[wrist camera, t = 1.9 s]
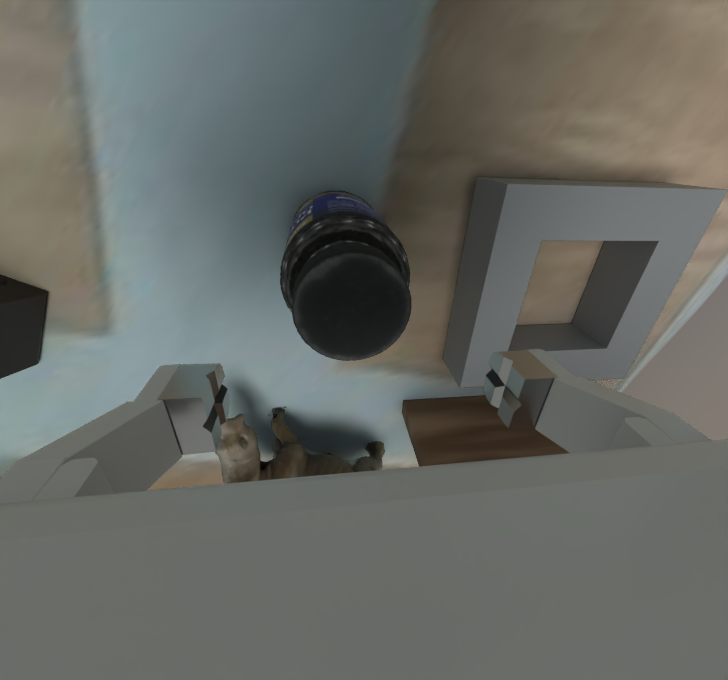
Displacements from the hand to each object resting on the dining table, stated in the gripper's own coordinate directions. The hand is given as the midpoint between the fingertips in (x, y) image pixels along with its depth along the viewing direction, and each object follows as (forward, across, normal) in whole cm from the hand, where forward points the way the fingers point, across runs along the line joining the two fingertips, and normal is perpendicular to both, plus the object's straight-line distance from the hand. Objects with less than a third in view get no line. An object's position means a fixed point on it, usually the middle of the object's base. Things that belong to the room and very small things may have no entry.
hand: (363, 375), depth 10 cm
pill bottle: (+15, 0, -1) cm, 15 cm away
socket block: (+14, -16, +2) cm, 22 cm away
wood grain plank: (+15, -15, +12) cm, 24 cm away
